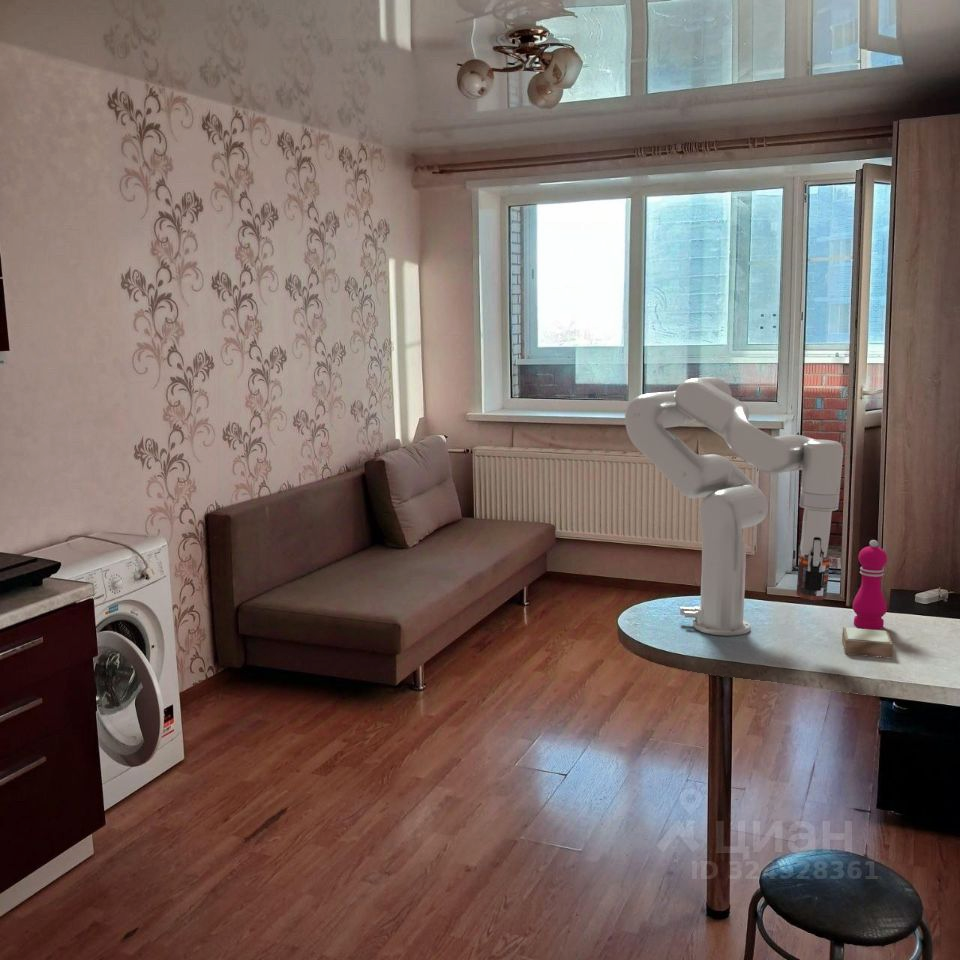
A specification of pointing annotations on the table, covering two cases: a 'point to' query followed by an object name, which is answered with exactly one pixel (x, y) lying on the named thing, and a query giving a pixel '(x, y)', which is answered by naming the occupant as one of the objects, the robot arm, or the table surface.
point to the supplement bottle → (801, 579)
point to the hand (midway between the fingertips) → (812, 584)
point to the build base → (867, 642)
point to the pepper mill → (870, 589)
